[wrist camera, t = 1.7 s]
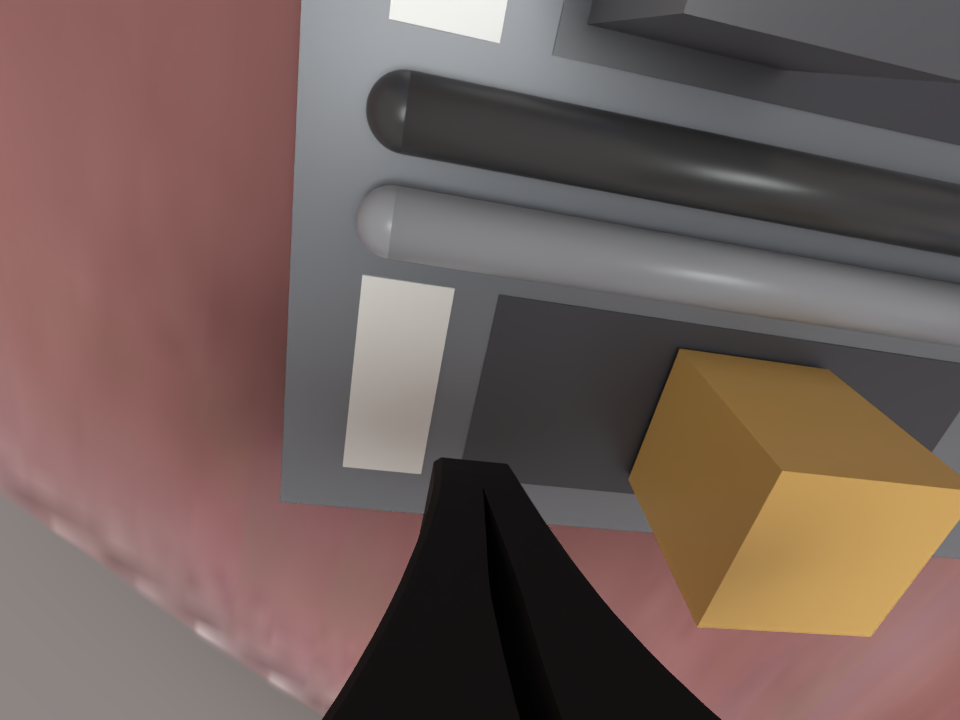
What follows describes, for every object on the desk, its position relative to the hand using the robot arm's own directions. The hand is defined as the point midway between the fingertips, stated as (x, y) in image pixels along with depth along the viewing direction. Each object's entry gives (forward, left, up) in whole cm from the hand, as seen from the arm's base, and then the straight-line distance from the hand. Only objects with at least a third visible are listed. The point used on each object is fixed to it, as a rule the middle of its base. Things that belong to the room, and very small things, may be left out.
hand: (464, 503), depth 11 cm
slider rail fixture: (-7, -5, -6) cm, 10 cm away
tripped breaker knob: (-7, 0, -4) cm, 8 cm away
